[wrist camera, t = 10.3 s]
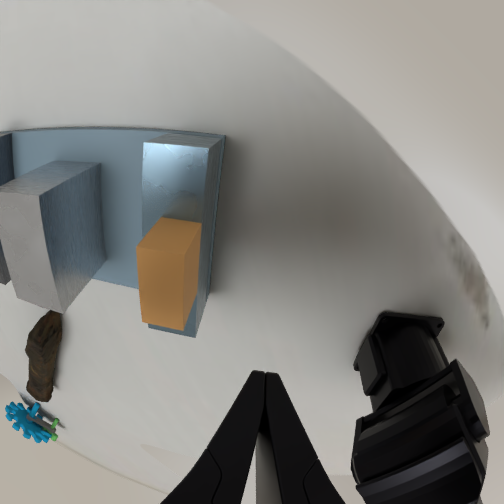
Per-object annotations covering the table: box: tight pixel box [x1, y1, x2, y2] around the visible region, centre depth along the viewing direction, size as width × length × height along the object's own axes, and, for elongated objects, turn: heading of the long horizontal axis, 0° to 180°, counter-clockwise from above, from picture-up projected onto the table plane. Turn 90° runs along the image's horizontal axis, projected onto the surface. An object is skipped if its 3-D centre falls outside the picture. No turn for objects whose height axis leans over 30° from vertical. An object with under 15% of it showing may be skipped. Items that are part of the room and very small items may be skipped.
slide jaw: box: [136, 133, 222, 338], centre depth 15 cm, size 3×11×6 cm, turn 172°
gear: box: [5, 402, 59, 443], centre depth 36 cm, size 11×6×10 cm
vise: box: [0, 127, 226, 302], centre depth 17 cm, size 19×11×4 cm, turn 82°
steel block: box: [0, 161, 107, 314], centre depth 15 cm, size 4×7×6 cm, turn 172°
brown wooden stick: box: [25, 310, 62, 402], centre depth 26 cm, size 19×4×5 cm, turn 142°
